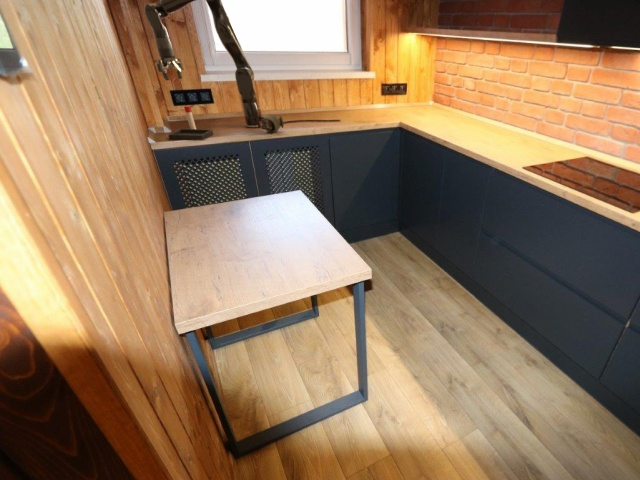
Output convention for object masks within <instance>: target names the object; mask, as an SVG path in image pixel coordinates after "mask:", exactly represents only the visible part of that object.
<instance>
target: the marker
mask: <svg viewBox="0 0 640 480" xmlns="http://www.w3.org/2000/svg"><path fill="white" fill-rule="evenodd" d="M183 108H184V109H183V110H184V112H185V115H186V118H187V123H188V125H189V129H197V126H196V123H195V120H194V116H193V113H192V108H191V105H183Z"/></svg>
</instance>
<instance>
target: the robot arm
mask: <svg viewBox="0 0 640 480" xmlns="http://www.w3.org/2000/svg"><path fill="white" fill-rule="evenodd" d="M196 1H197V0H159V1H158V2H155V3H150V2H149V3H146V4H145V5H144V7H143V12H144V15H145V18H146V20H147V22H148V24H149V26H150V27H151V29H152V33H153V37H154V41H155V45H156V49H157V52H158V54H159V57H160V59H155V63H156V67H157V69H158V70H157V71H158V72H159V73H161V74H162V75H163V79H164V80H165V81H170V78H169V75H168V70H169V69H171V68H173V69H174V70H175V71H176V74H177V77H178V79H179V80H182V79H183V74H182V71H184V66H183V63H182V59H181V58H177V57H176V56H175V52H174V48H173V45H172V42H171V39H170V36H169V33H168V29H167V27H166V26H165V25H164V24H163V23H162V21H161V20H162V19H163V20H164V19H165V18H167V17H168V16H170V15H171V14H174V13H176V12H178V11H181V10H182V9H184V8H185V7H187V6H188V5H189V4H191V3H193V2H196ZM205 1H206V4H207V6H208V8H209V10H210V12H211V15H212V21H213V24H214V28H215V29H214V30H215V32H216V34H217V36H218V39H219V40H220V42H221V44H222V46H223V47H224V49H225V50H226V52H227V53H228V54H229V56H230V57H231V59H232V60H233V63H234V66H235V68H236V69H235V73H234V77H235V83H236V86H237V91H238V93H239V95H240V100H241V105H242V110H243V115H244V116H243V117H244V120H245V126H246V127H247V128H251V129H252V128H253V129H255V128H262V127H263V126H262V119H261V117H264V116H265V114H264V115H262V111H261V109H260V106H259V101H258V95H257V91H256V90H255V86H254V80H255V72H254V70H253V68H252V66H251V65H250V63H249V61H248V59H247V58H246V56H245V53H244V50H243V48H242V46H241V44H240V41H239V38H238V36H237V34H236V31H235V29H234V27H233V25H232V22H231V20H230V18H229V16H228V14H227V12H226V10H225V7H224V5H223V2H222V0H205ZM299 122H301V123H302V122H341V119H296V120H294V119H293V120H287V121H283V123H284V124H287V123H299Z"/></svg>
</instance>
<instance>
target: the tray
mask: <svg viewBox="0 0 640 480" xmlns="http://www.w3.org/2000/svg"><path fill="white" fill-rule="evenodd" d="M212 135H214V132H213V129H204V128H203V129H201V128H199V129H197V128H196V129H190V128H179V129H177V130H175V131H173V132H171V133H169V134H168V138H169V140H183V141H184V140H187V141H204V140H206V139H207V138H209V137H211V136H212Z"/></svg>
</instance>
